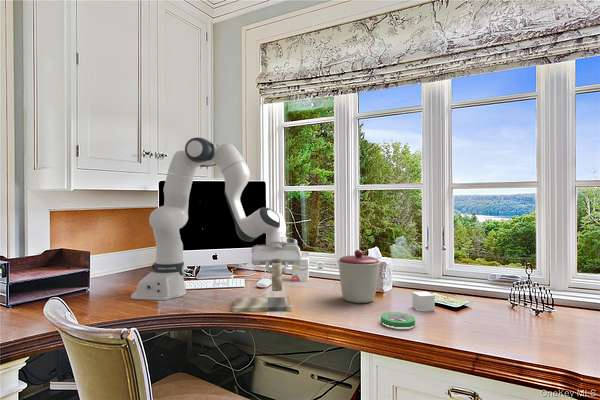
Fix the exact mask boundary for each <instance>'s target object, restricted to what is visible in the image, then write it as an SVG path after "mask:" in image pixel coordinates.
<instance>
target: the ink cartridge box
mask: <svg viewBox="0 0 600 400" xmlns="http://www.w3.org/2000/svg"><path fill="white" fill-rule="evenodd" d="M309 254H310V252H309V251H301V257H302V260H301V263H300V264H299V265H291V281H292V282H309V278H310V277H309V276H310V270H309V269H310V255H309Z"/></svg>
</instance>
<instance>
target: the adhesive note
mask: <svg viewBox="0 0 600 400" xmlns="http://www.w3.org/2000/svg"><path fill="white" fill-rule="evenodd" d="M411 293H412V295H411V298H412V299H411V300H412V302H411V305H412V306H413V307H415V308H417V309H418V310H420V311H422V310H435V311H436V307H435V305H436V304H435V302H436V298H435V297H436V295H435V294H433V293H431V292H428V291H412V292H411ZM412 306H411V307H412ZM413 307H412V308H413ZM415 308H414V309H415ZM418 310H417V311H418ZM420 311H419V312H420Z"/></svg>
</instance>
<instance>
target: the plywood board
mask: <svg viewBox="0 0 600 400" xmlns="http://www.w3.org/2000/svg"><path fill="white" fill-rule="evenodd" d="M291 302H292V301H291V299H290V297H289V296H283V297H282V296H277V297H275V296H274V297H273V296H272V297H269V296H268V297H235V299H234V303H233V306H232V313H247V312H248V313H249V312H251V313H253V312H292V308H293V307H292V304H291Z"/></svg>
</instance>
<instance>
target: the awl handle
mask: <svg viewBox="0 0 600 400" xmlns="http://www.w3.org/2000/svg"><path fill="white" fill-rule="evenodd" d="M271 268H272V273H271V291H272V292H281V291H283V273H282V268H283V265H282V259H272V265H271Z"/></svg>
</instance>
